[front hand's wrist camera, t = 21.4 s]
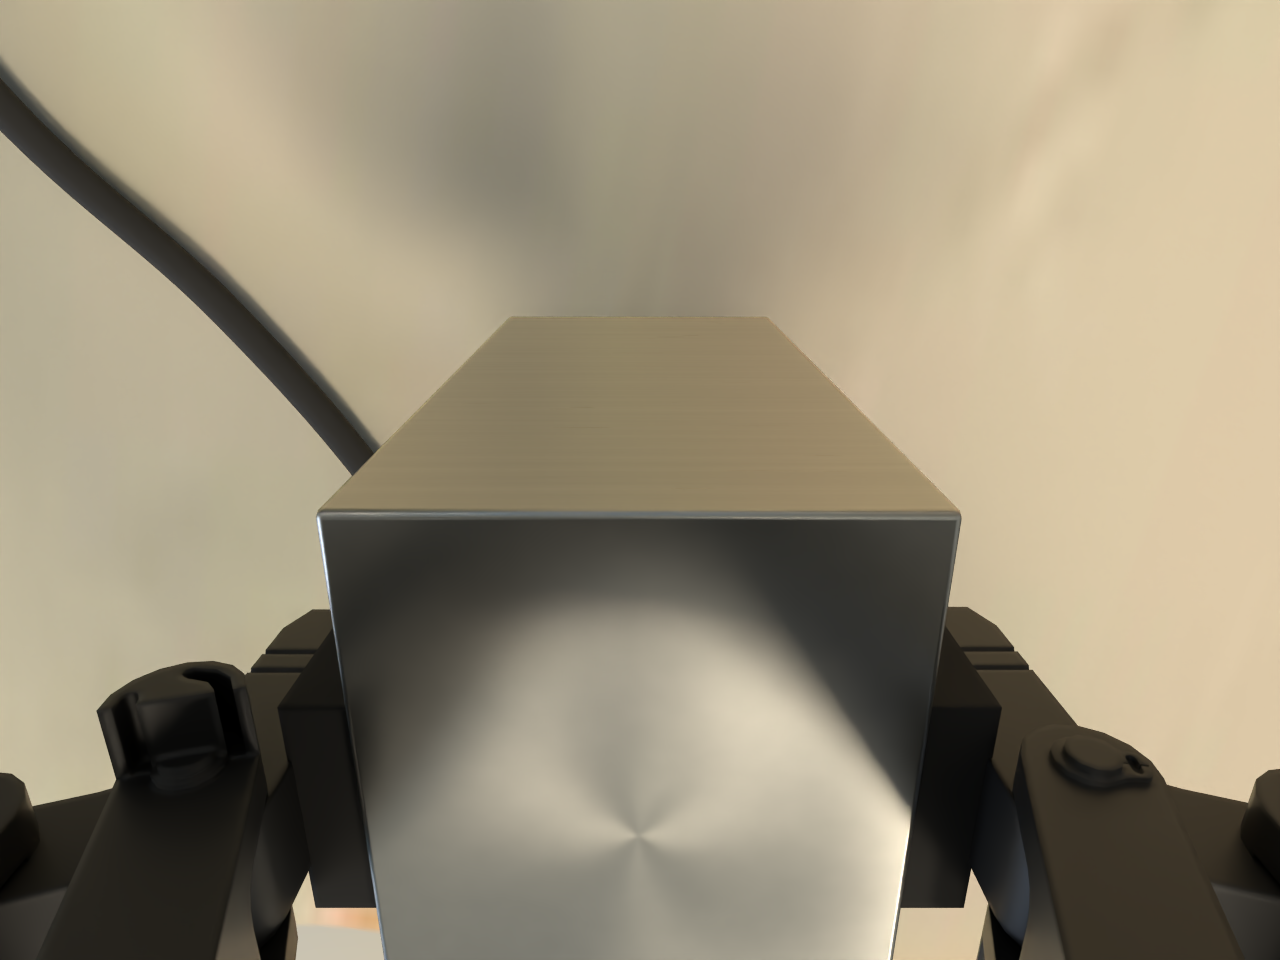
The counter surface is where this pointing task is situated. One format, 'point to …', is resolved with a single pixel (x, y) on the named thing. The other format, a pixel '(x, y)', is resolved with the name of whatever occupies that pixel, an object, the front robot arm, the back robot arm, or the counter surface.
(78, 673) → the counter surface
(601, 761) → the block
